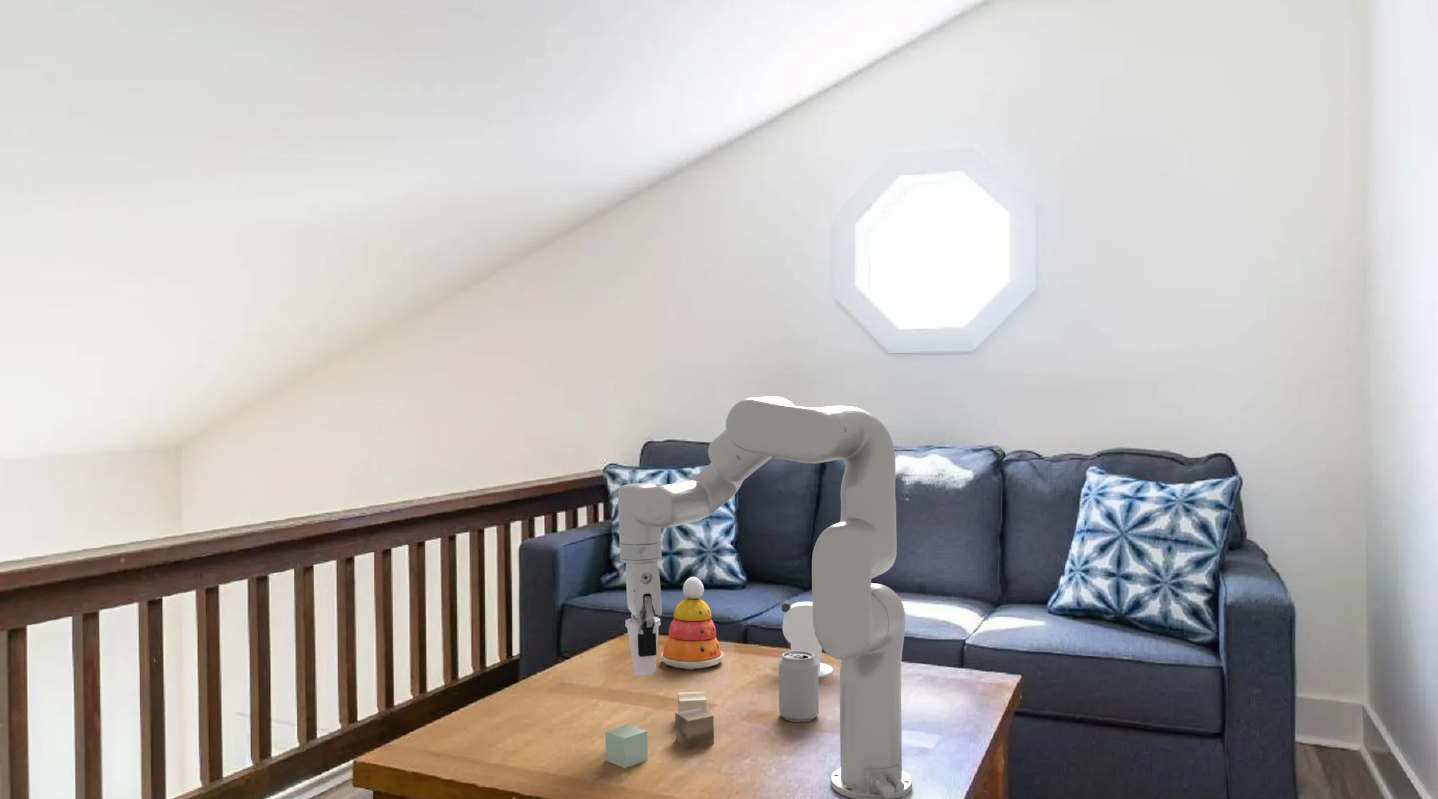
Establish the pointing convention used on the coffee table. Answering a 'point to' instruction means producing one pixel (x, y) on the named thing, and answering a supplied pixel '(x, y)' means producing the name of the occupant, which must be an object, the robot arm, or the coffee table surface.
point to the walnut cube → (694, 728)
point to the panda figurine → (802, 632)
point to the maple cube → (691, 701)
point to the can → (798, 686)
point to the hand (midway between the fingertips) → (643, 650)
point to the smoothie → (640, 664)
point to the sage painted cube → (626, 746)
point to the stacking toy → (692, 632)
